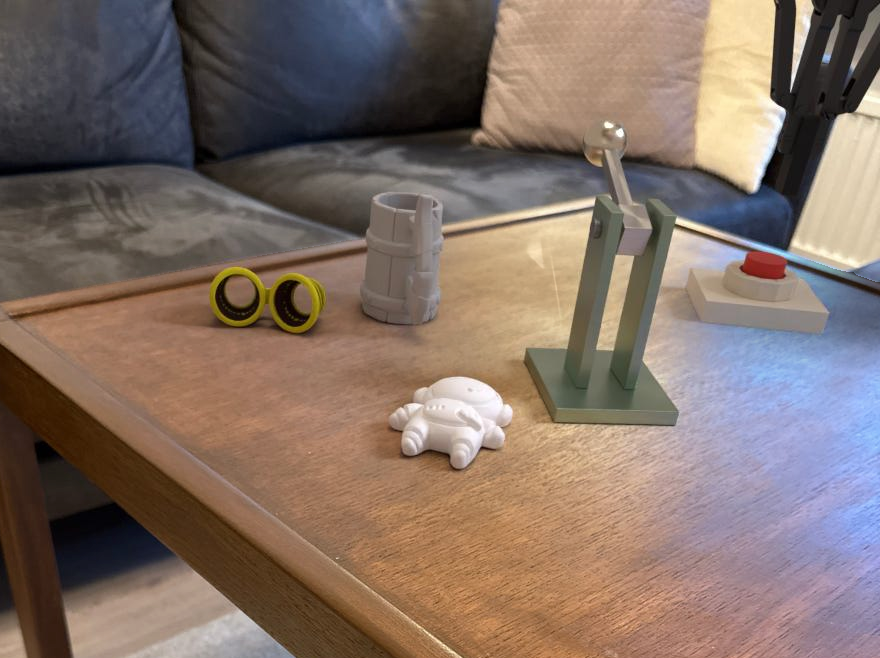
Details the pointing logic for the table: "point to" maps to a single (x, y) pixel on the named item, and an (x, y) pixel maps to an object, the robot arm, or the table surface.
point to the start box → (755, 300)
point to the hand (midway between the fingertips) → (785, 191)
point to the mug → (403, 258)
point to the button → (764, 265)
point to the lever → (618, 182)
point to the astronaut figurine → (453, 419)
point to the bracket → (620, 370)
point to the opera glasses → (267, 300)
